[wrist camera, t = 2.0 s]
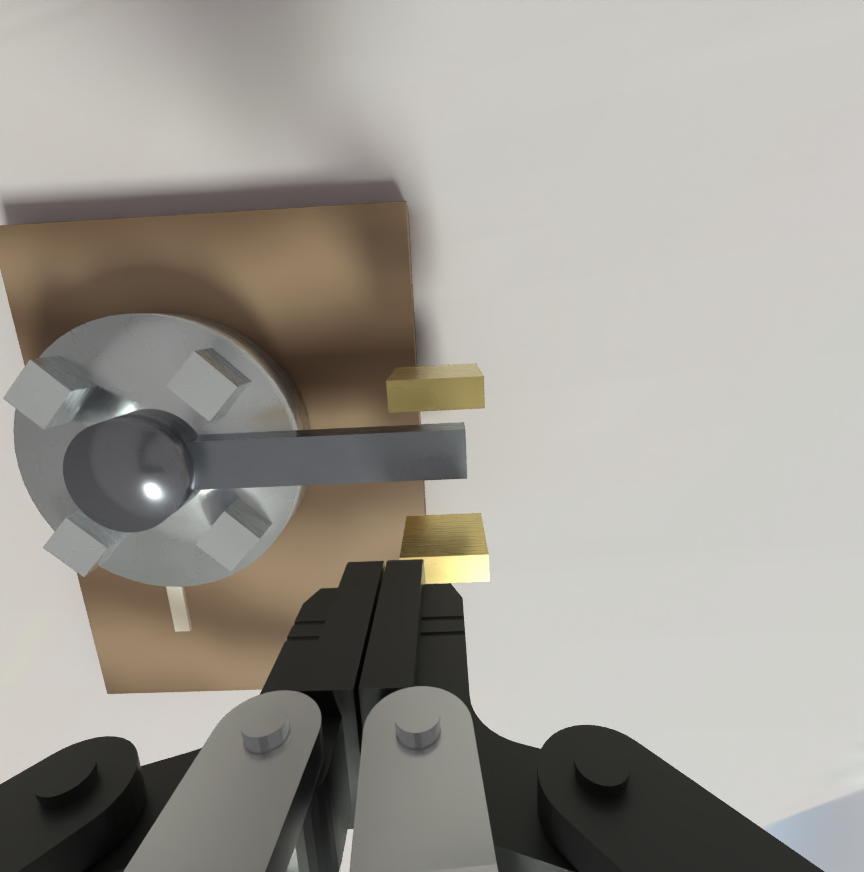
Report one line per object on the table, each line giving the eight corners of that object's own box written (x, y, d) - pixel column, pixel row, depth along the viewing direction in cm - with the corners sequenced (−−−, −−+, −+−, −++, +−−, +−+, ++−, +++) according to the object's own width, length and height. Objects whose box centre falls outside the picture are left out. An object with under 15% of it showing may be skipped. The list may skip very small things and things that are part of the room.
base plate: (18, 231, 23) (-15, 225, 21) (407, 207, 23) (405, 199, 21) (124, 674, 29) (105, 696, 27) (434, 664, 28) (434, 687, 27)
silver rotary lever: (29, 320, 22) (-158, 326, 15) (468, 296, 22) (481, 291, 15) (89, 564, 25) (-46, 662, 18) (477, 549, 25) (491, 644, 18)
